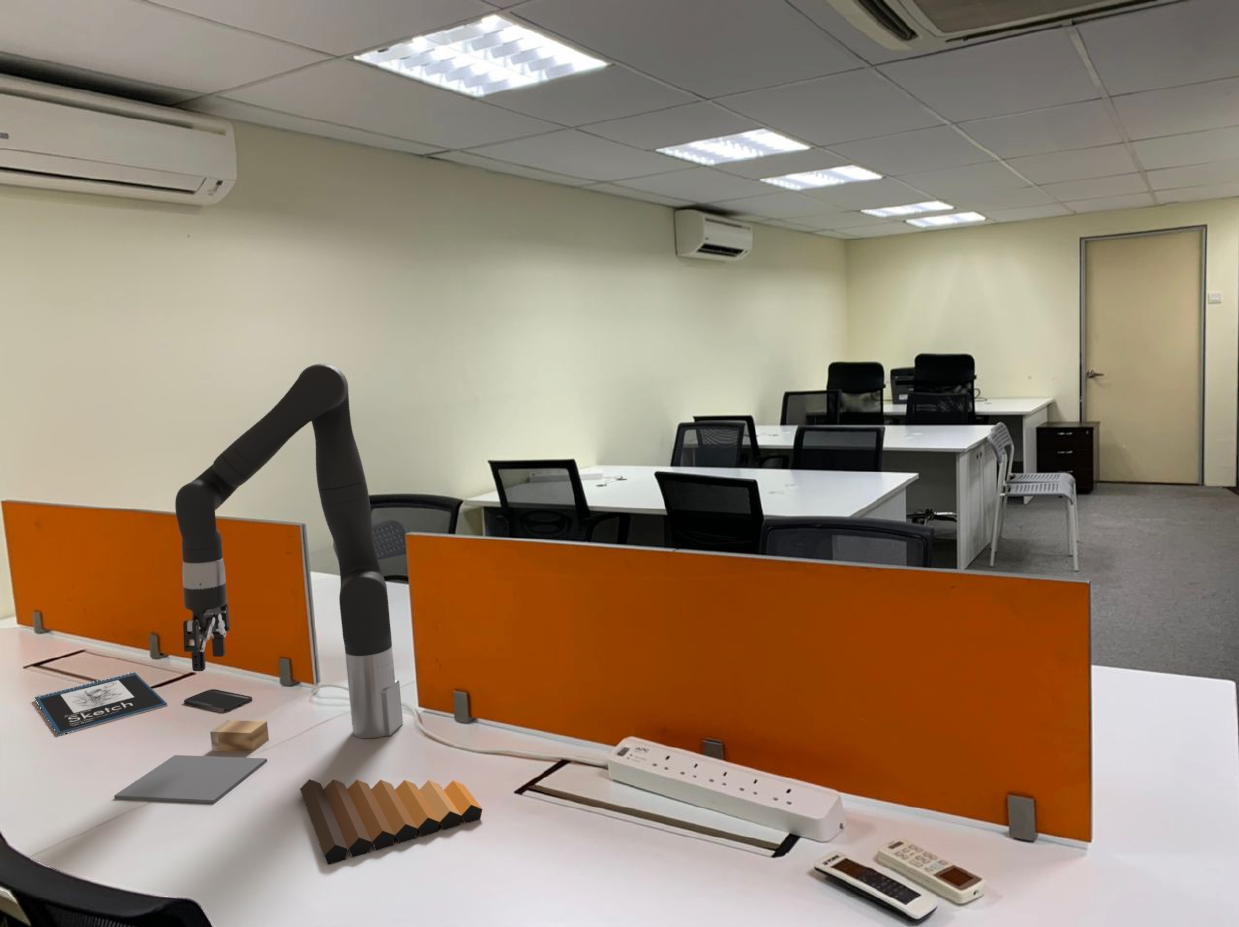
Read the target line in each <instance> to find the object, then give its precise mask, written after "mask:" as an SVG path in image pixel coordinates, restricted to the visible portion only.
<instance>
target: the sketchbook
mask: <svg viewBox="0 0 1239 927" xmlns="http://www.w3.org/2000/svg"><path fill="white" fill-rule="evenodd" d="M35 699H36V701H37V702H38V704H39V706H40V707H41V709H42V711H43V712H44V714H45V715H44V714H43V715H44V717H45V716H46V717H47V719H48V720H49V722H50V723H49V722H48V723H49V725H50V724H51V725H52V726H53V728H54V729H55V731H56V732H55V731H54V732H55V734H56V733H57V734H58V735H61V734H64V733H68V732H72V731H76V730H79V731H81V730H80V729H83V730H85V729H84V728H87V729H89V728H88V727H90V728H92V727H91V726H94V727H97V726H100V725H105V724H108V723H111V722H114V721H118V720H121V719H122V720H123V719H126V718H130V717H133V716H136V715H139V714H143V713H147V712H150V711H153V710H158V709H162V708H165V706H166V707H168V703H167V701H165V700H164V698H162V697H161V696H160V694H158V693H157V692H156V691H155V690H154V689H153V688H152V687H151V686H150V685H149V684H148V683H147V682H146V681H145V680H144V679H142V677H141V676H140V675H139V674H137V673H136V671H135V672H132V671H130V672H129V671H127V674H126V673H125V672H124V673H123V675H122V674H121V673H120V674H119V675H118V674H115V677H114V676H113V675H112V677H111V678H110V676H108V679H106V678H104V679H103V680H102V678H100V680H99V681H98V679H96V681H94V680H92V682H90V681H88V683H86V682H84V684H82V683H80V685H78V684H77V685H76V686H74V685H72V687H70V686H68V688H67V689H66V687H64V689H62V688H60V689H59V690H58V689H56V690H55V692H54V690H52V691H51V693H50V692H49V691H48V692H47V694H46V693H45V692H44V693H43V694H42V695H41V693H39V694H37V696H35V697H34V700H35ZM39 706H38V707H39ZM41 709H40V710H41ZM42 711H41V712H42ZM43 712H42V713H43ZM129 716H130V717H129ZM46 717H45V718H46ZM47 719H46V720H47ZM48 720H47V721H48ZM107 722H108V723H107ZM51 725H50V726H51ZM52 726H51V727H52ZM53 728H52V729H53ZM54 729H53V730H54ZM76 732H77V731H76ZM72 733H73V732H72ZM57 734H56V735H57ZM58 735H57V736H58ZM61 736H62V735H61Z"/></svg>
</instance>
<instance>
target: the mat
mask: <svg viewBox="0 0 1239 927" xmlns="http://www.w3.org/2000/svg"><path fill="white" fill-rule="evenodd" d="M267 762H268V759H267V758H262V757H240V756H239V757H235V756H211V755H210V756H209V755H208V756H206V755H183V754H182V755H180V754H174V755H173V756H171V757H170V758H168V759H167V760H165V761H164V762H162V763H161V764H159V765H158V766H156V767H155V768H153V769H152V770H150V771H149V772H147V773H146V774H145V775H143V776H141V777H140V778H138V779H137V780H135V781H134V782H132V783H131V784H129V785H127V786H126V787H125V788H123V789H121V790H120V791H119V792H117V793H116V794H114V796H113V798H114V799H115V800H116V799H118V800H134V801H135V800H138V801H154V802H155V801H156V802H175V803H176V802H178V803H180V802H181V803H193V804H194V803H197V804H215V803H217V802H218V801H220V799H222V798H223V797H224V796H225V795H226V794H228V793H229V792H230V791H232V790H233V789H235V788H236V787H237V786H239V784H241V783H242V782H243V781H245V780H246V779H247V778H248V777H250V776H251V775H252V774H253V773H254V772H256V771H257V770H259V768H260V767H262V766H263V765H264V764H266V763H267Z"/></svg>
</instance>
